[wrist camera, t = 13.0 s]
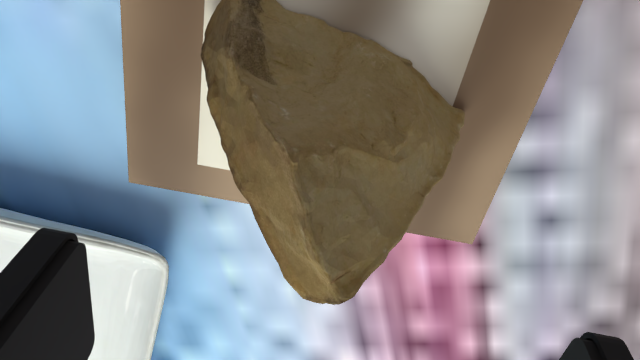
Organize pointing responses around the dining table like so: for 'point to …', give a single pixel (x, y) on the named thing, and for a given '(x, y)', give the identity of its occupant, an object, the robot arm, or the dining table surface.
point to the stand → (371, 24)
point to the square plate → (106, 284)
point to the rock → (323, 140)
